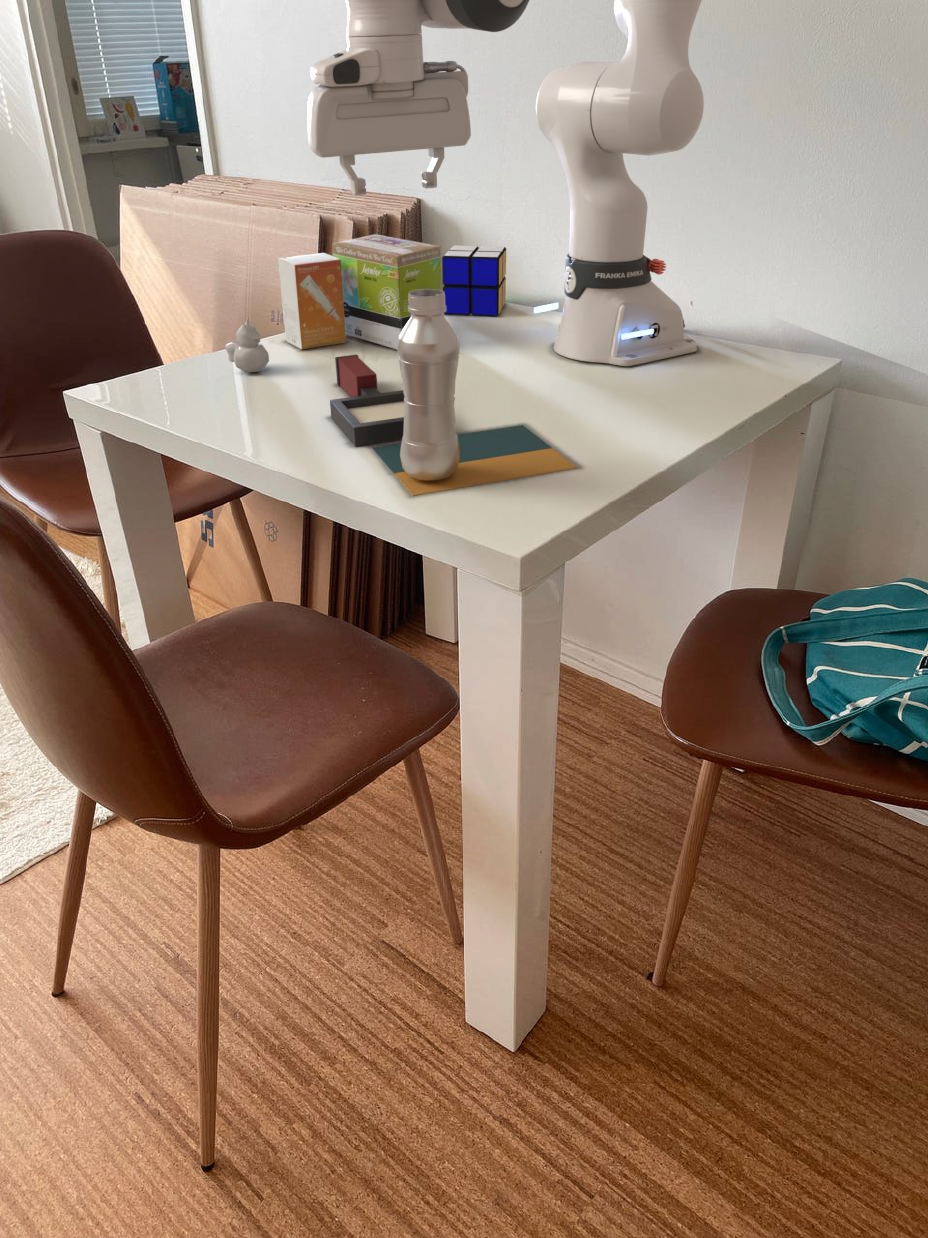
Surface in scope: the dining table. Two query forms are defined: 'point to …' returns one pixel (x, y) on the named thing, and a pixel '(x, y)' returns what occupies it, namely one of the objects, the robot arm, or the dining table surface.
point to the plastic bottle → (429, 388)
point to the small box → (312, 300)
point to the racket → (366, 405)
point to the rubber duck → (248, 349)
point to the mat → (485, 460)
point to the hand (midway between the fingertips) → (394, 190)
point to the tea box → (383, 283)
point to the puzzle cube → (474, 280)
